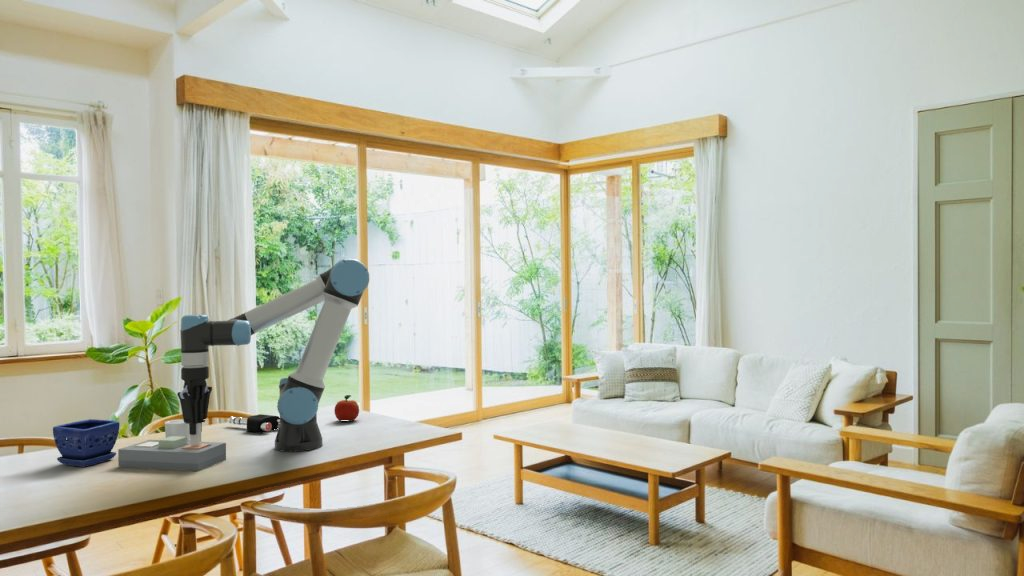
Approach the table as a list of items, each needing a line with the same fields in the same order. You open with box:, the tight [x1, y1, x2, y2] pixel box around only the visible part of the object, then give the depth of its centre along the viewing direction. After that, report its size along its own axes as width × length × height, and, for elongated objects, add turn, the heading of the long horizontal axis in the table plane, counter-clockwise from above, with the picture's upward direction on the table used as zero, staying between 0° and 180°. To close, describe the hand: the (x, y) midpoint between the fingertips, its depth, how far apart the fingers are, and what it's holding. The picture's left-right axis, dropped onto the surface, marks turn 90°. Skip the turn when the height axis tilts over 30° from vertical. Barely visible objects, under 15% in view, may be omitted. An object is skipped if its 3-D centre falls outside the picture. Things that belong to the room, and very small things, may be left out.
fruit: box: [334, 394, 360, 421], centre depth 271 cm, size 10×10×10 cm
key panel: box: [117, 439, 227, 472], centre depth 208 cm, size 27×13×5 cm, turn 78°
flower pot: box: [52, 418, 120, 468], centre depth 211 cm, size 13×13×12 cm
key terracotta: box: [182, 444, 210, 450], centre depth 207 cm, size 6×6×4 cm
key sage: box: [158, 436, 187, 449], centre depth 208 cm, size 6×6×4 cm
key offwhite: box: [136, 442, 159, 448], centre depth 210 cm, size 6×6×4 cm
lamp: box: [227, 414, 280, 434], centre depth 258 cm, size 11×5×25 cm
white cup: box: [164, 418, 190, 441], centre depth 222 cm, size 8×8×10 cm
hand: (195, 444), depth 207 cm, fingers closed
